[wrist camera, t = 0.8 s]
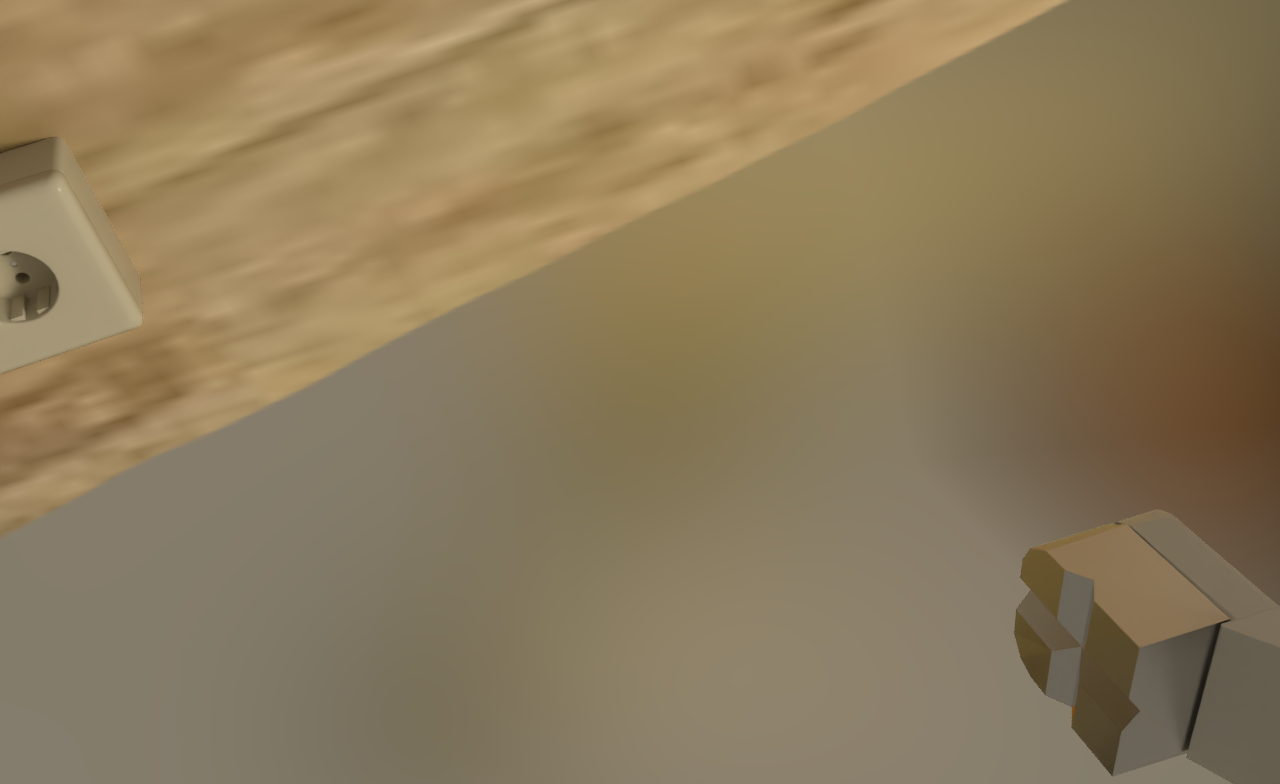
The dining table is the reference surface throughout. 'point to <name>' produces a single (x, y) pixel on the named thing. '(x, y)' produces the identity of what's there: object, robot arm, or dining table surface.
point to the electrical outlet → (58, 259)
